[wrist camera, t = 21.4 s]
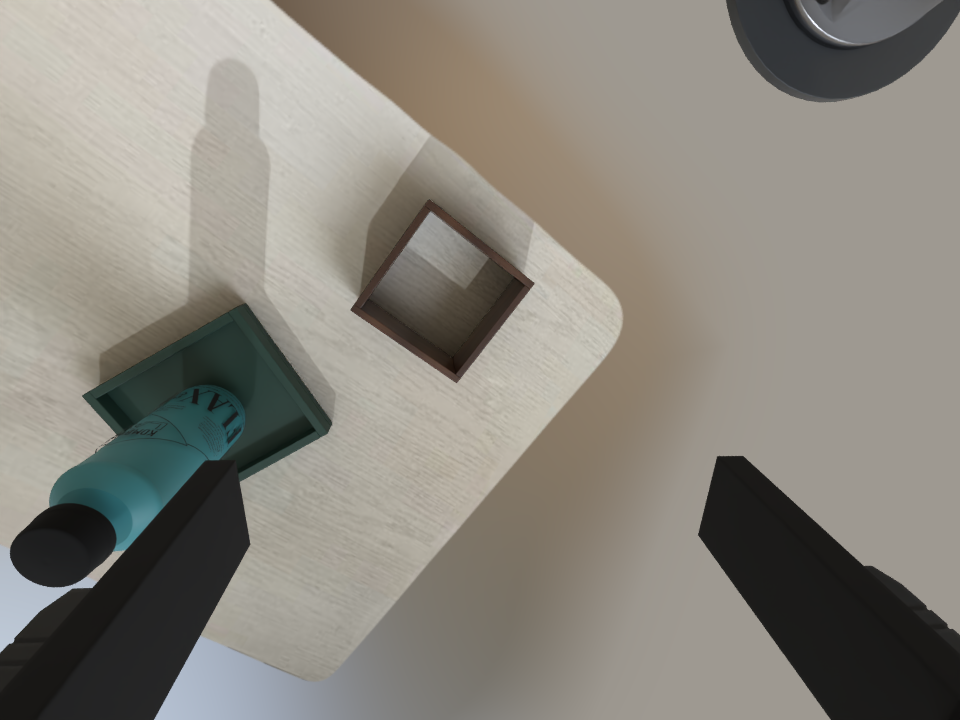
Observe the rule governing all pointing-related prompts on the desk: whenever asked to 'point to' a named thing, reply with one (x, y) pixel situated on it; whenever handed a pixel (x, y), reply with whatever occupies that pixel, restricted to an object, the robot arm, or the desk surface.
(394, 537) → the desk surface
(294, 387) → the tray
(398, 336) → the crate
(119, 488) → the beverage bottle
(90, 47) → the desk surface
